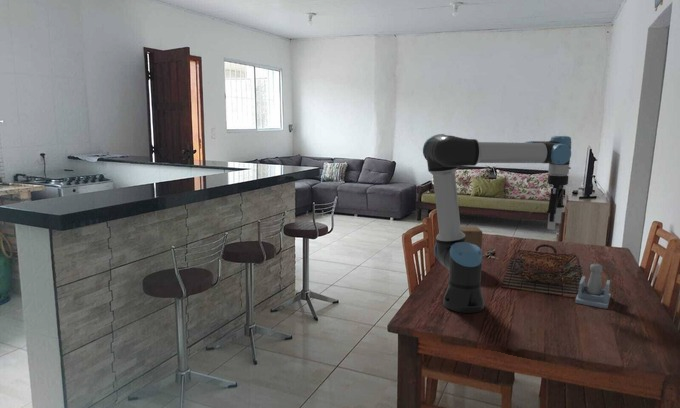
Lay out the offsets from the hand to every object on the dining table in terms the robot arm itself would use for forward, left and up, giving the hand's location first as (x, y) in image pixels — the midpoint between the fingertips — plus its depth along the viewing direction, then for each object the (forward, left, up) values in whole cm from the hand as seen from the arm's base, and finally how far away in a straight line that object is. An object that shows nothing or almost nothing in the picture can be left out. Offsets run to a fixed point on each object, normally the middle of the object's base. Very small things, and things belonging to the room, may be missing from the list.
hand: (554, 226), depth 199 cm
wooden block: (+5, +37, -27) cm, 46 cm away
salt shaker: (-5, -17, -25) cm, 31 cm away
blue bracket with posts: (-5, -17, -27) cm, 32 cm away
